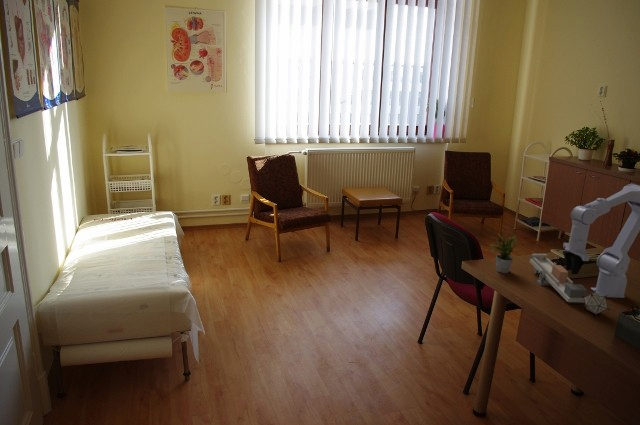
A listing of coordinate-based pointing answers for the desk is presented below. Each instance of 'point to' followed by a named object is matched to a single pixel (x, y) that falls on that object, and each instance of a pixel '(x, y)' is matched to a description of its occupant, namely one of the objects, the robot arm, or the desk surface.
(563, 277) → the block
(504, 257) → the house plant
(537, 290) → the desk surface
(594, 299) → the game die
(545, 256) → the beam
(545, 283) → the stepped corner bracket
